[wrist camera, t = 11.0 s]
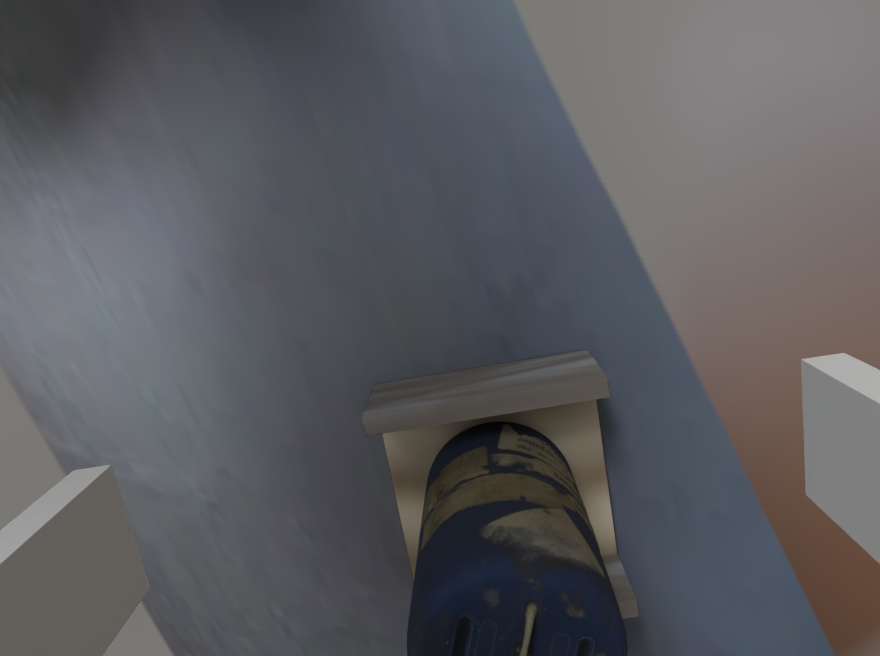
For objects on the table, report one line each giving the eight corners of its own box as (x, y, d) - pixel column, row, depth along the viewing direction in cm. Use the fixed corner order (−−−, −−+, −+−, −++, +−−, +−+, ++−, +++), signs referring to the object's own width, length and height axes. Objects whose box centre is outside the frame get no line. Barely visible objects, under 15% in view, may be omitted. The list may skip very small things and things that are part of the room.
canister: (596, 448, 42) (689, 638, 25) (532, 566, 45) (577, 818, 27) (461, 390, 42) (460, 543, 24) (404, 512, 44) (364, 734, 26)
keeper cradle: (374, 384, 43) (361, 417, 37) (586, 349, 42) (607, 376, 36) (418, 588, 46) (412, 647, 41) (615, 560, 45) (638, 616, 40)
